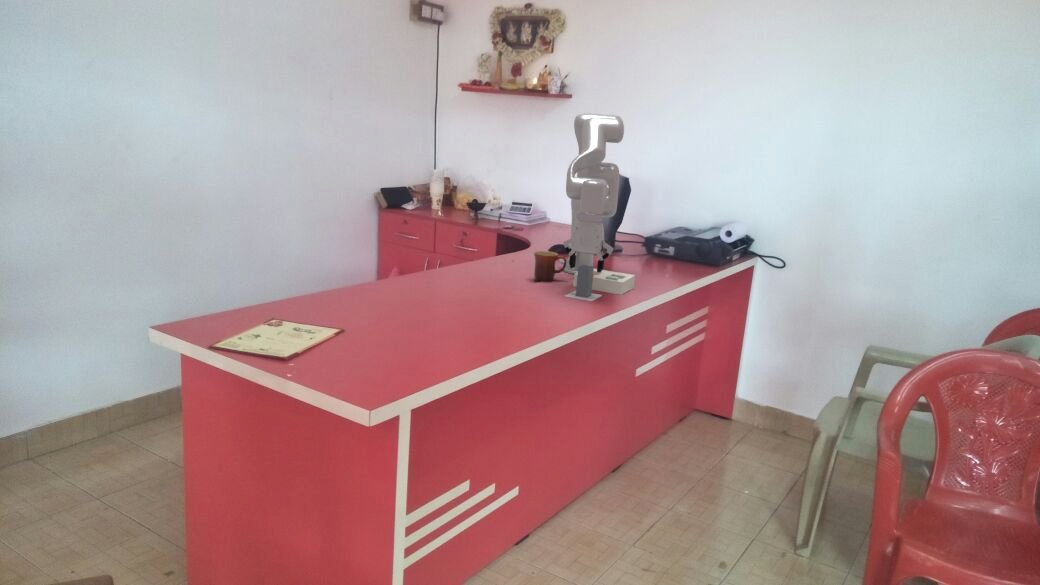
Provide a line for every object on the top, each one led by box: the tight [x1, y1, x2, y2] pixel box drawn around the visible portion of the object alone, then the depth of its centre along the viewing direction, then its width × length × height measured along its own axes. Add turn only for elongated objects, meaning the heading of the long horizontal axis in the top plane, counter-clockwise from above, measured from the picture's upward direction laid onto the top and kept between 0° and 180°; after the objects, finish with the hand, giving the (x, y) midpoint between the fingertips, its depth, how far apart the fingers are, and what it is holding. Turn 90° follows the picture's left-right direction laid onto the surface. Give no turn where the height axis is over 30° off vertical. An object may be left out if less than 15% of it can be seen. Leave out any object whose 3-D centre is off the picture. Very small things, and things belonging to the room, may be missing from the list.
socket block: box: [572, 267, 636, 296], centre depth 253 cm, size 18×14×6 cm
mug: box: [533, 250, 567, 283], centre depth 258 cm, size 12×9×10 cm
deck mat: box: [564, 289, 603, 302], centre depth 239 cm, size 10×10×1 cm
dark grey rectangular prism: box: [575, 265, 595, 298], centre depth 238 cm, size 4×4×10 cm
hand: (585, 269), depth 237 cm, fingers open, 9 cm apart
